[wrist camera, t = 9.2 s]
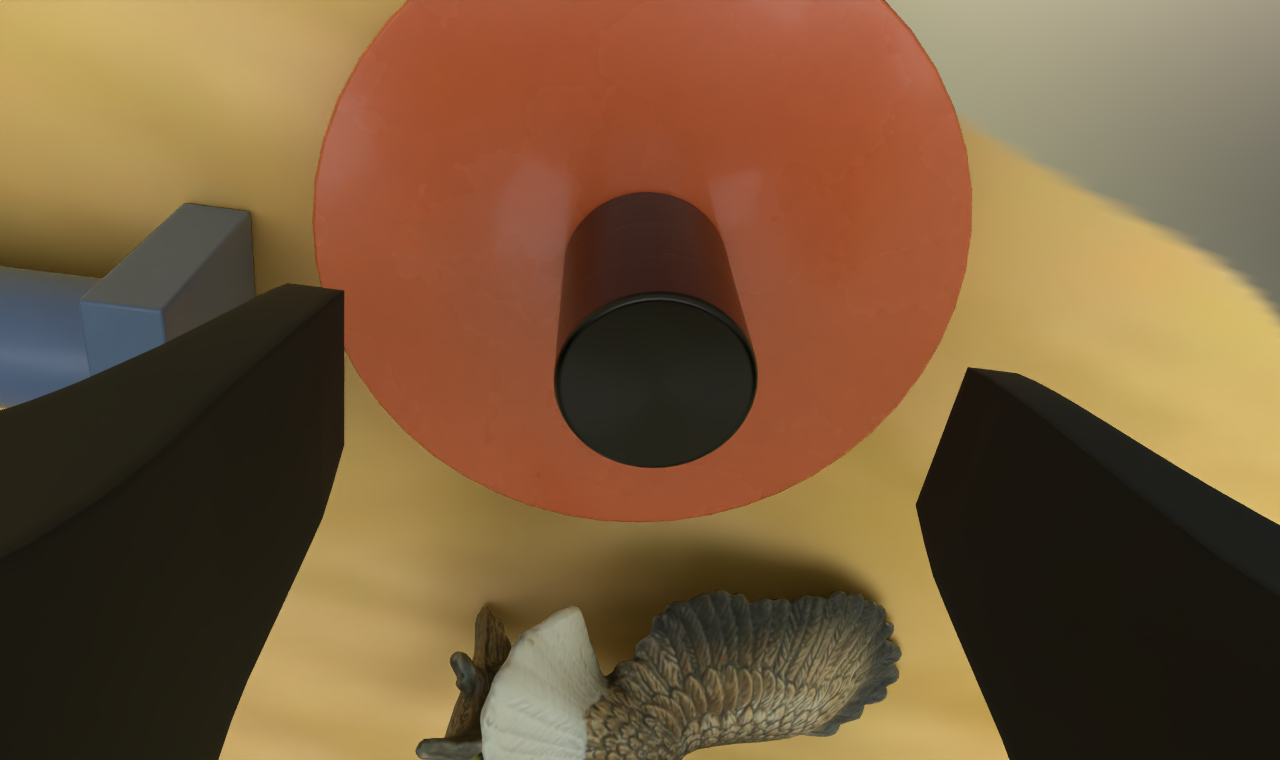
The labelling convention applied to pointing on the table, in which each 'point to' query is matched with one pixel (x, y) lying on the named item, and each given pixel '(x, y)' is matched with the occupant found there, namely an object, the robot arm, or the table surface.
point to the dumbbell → (122, 302)
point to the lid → (642, 240)
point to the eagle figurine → (669, 681)
